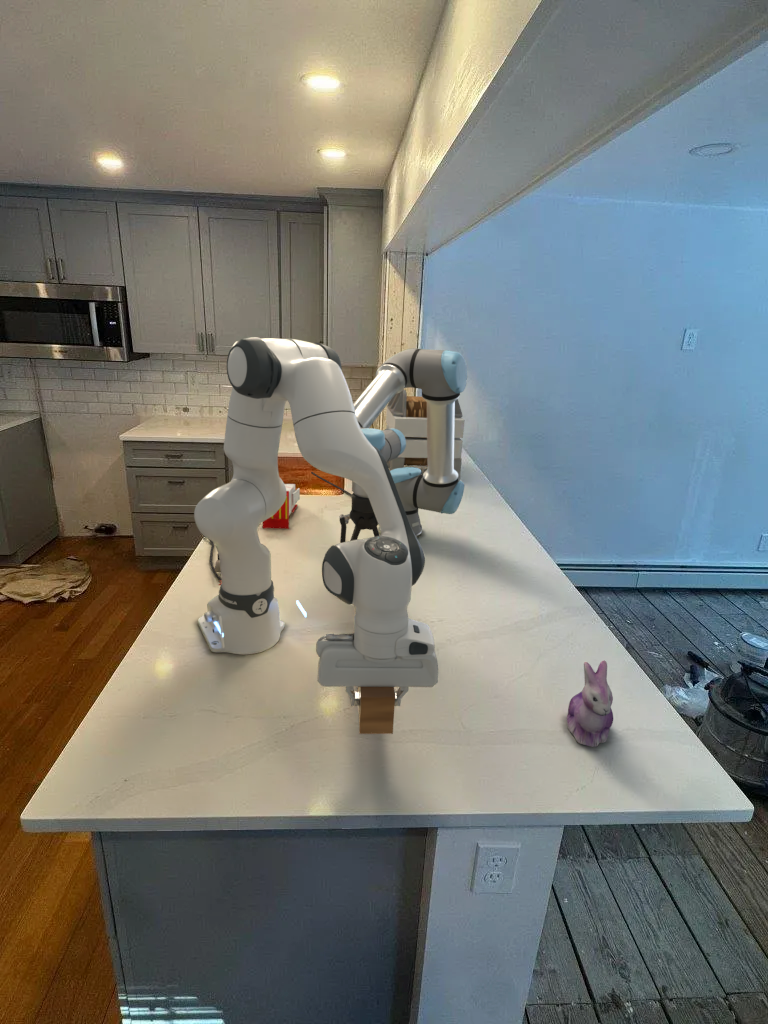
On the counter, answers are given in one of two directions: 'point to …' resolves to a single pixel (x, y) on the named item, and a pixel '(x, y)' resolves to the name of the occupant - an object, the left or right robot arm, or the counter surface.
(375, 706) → the bar
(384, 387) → the right robot arm
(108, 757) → the counter surface
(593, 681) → the figurine
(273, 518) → the toy
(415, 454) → the slatted wooden crate
